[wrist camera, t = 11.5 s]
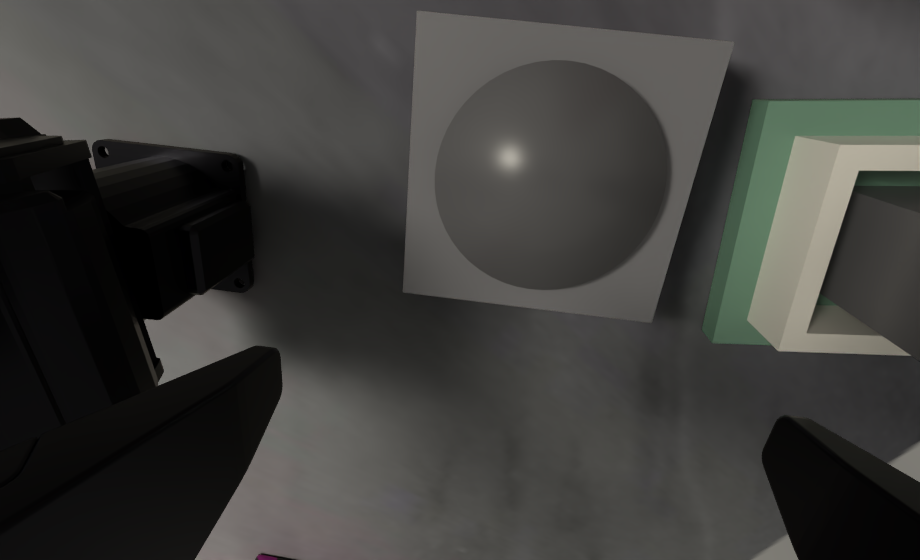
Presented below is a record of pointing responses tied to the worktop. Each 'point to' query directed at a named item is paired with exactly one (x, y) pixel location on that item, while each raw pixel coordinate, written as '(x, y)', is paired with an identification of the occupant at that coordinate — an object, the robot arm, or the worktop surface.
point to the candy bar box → (268, 558)
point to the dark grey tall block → (880, 263)
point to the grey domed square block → (553, 161)
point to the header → (804, 219)
